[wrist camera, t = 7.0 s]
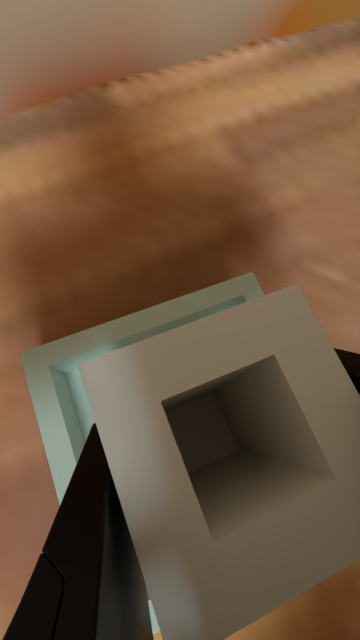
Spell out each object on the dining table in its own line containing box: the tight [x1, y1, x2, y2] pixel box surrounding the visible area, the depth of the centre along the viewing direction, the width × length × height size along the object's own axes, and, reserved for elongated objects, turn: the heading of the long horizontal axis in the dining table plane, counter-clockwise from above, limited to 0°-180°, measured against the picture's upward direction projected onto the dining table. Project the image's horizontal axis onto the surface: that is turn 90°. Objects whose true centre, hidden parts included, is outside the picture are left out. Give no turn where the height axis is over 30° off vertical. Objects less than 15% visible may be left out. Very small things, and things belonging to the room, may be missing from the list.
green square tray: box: [20, 272, 264, 634], centre depth 18 cm, size 14×14×4 cm
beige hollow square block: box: [77, 283, 360, 640], centre depth 11 cm, size 6×6×9 cm
